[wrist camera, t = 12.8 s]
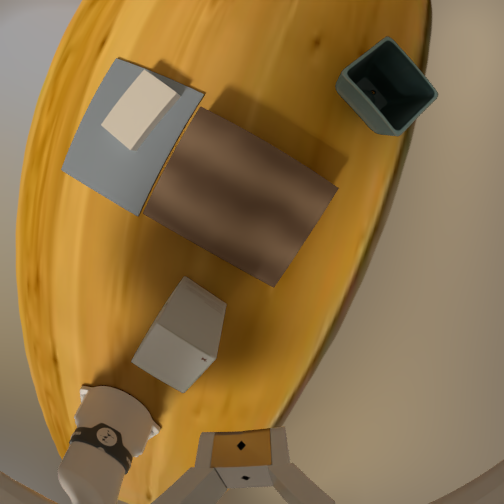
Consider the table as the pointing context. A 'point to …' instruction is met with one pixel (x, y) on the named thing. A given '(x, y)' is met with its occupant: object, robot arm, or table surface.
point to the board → (239, 197)
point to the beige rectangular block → (140, 110)
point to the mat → (117, 154)
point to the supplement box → (183, 336)
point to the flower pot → (386, 88)
